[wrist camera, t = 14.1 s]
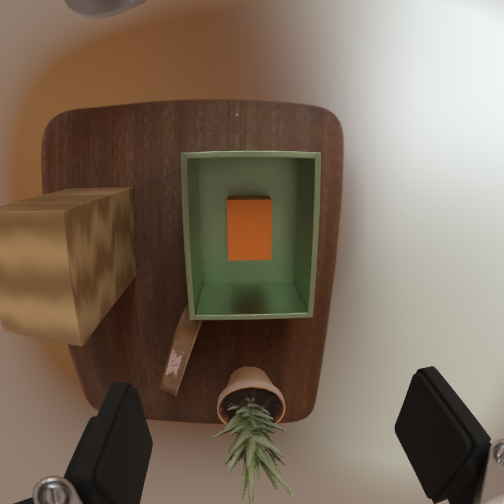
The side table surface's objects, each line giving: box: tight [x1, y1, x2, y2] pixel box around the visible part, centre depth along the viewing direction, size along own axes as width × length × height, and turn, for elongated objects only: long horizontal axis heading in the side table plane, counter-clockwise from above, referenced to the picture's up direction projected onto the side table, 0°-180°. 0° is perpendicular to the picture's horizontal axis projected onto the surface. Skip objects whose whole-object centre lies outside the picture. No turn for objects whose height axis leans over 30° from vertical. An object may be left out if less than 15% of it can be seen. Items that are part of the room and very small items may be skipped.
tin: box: [160, 304, 203, 396], centre depth 40 cm, size 15×3×8 cm, turn 159°
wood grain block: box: [0, 187, 136, 346], centre depth 31 cm, size 12×10×18 cm
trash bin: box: [181, 151, 321, 320], centre depth 36 cm, size 13×17×10 cm
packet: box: [227, 196, 272, 261], centre depth 38 cm, size 7×5×4 cm
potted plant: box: [212, 366, 294, 504], centre depth 36 cm, size 10×10×25 cm
